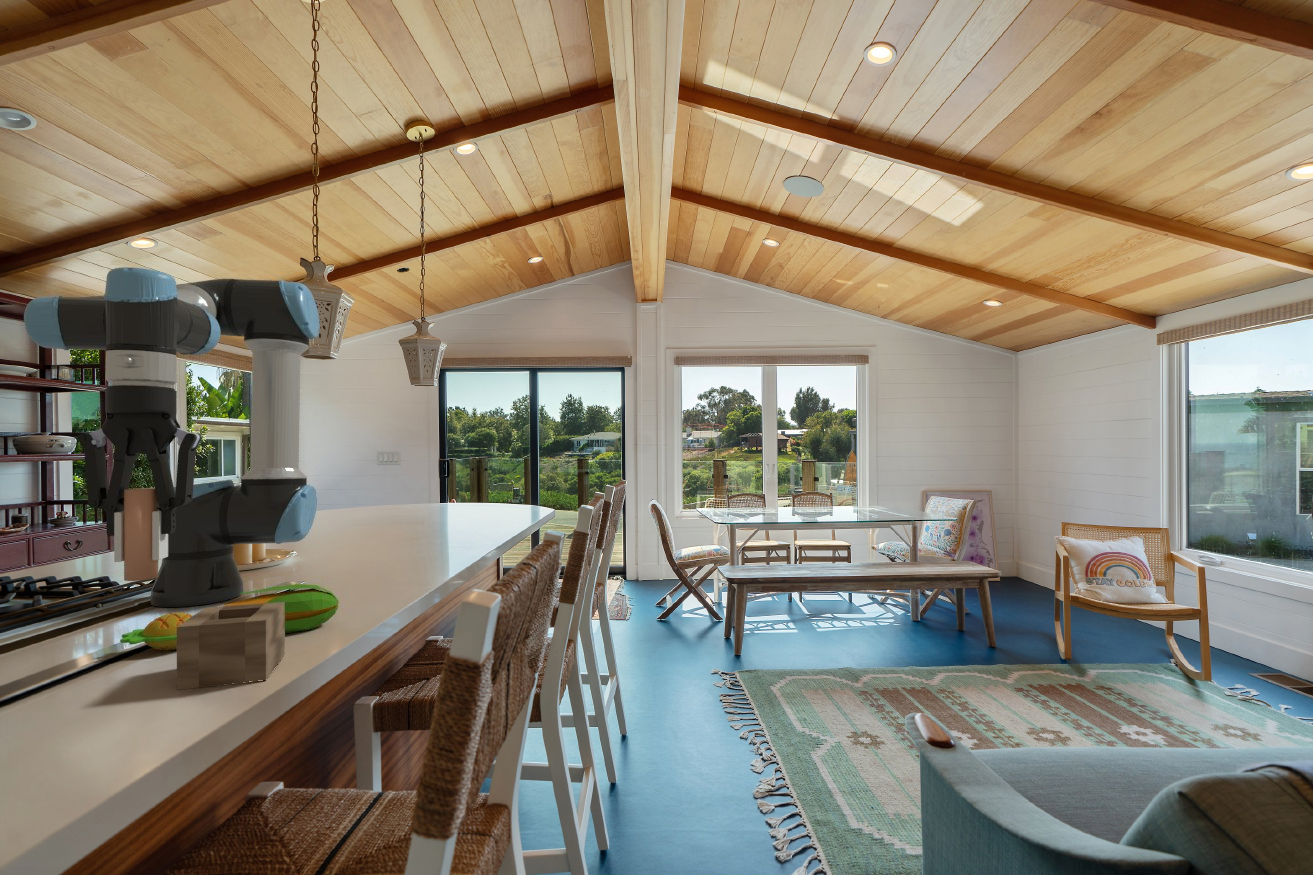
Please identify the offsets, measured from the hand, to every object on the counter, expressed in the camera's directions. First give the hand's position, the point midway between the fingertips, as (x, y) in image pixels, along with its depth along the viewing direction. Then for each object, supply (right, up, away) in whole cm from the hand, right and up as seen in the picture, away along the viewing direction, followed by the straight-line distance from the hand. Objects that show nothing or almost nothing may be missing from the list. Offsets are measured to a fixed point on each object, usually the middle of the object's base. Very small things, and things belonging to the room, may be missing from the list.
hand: (141, 558), depth 87 cm
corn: (+6, -16, +19) cm, 26 cm away
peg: (0, -3, 0) cm, 3 cm away
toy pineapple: (-5, -16, +11) cm, 20 cm away
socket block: (+11, -16, +2) cm, 20 cm away
